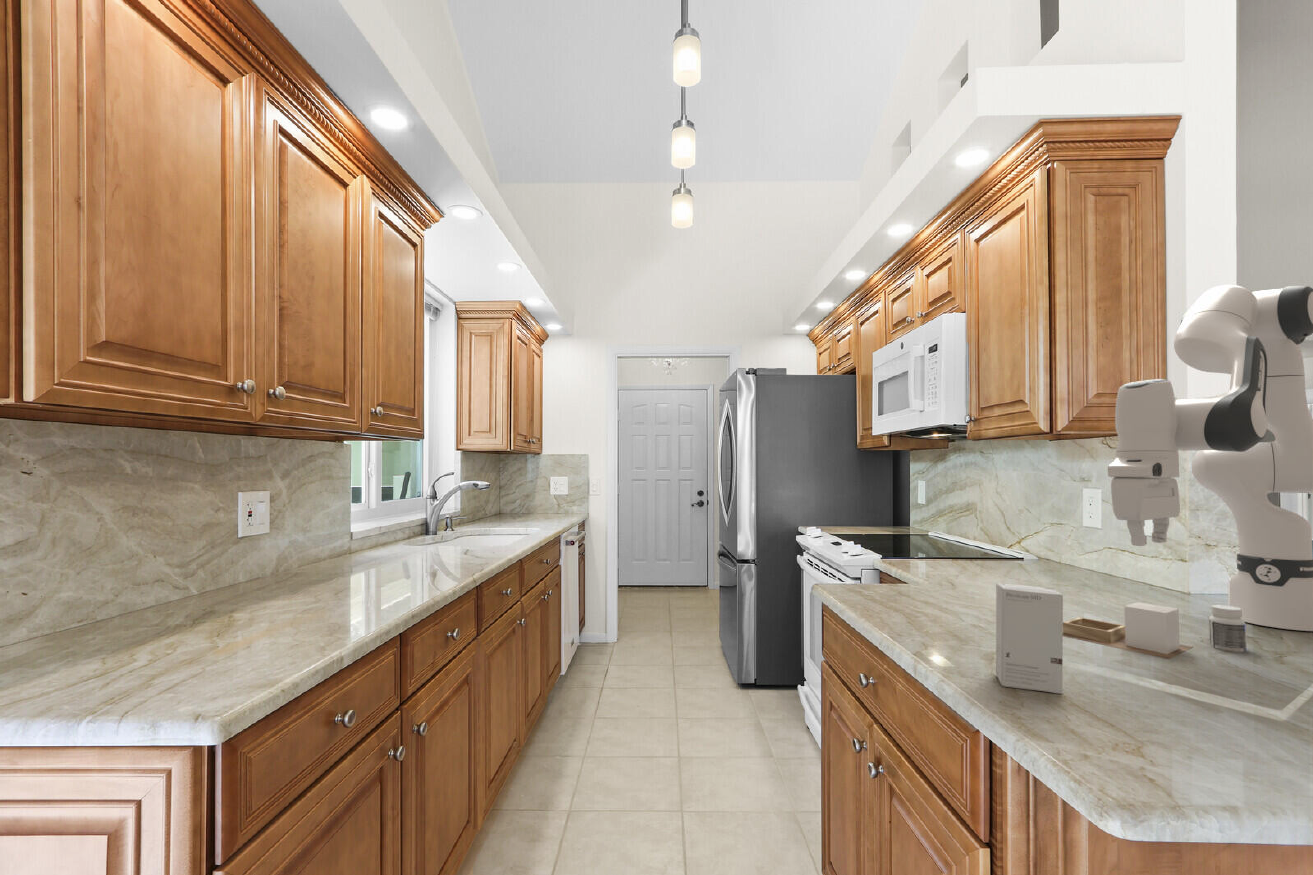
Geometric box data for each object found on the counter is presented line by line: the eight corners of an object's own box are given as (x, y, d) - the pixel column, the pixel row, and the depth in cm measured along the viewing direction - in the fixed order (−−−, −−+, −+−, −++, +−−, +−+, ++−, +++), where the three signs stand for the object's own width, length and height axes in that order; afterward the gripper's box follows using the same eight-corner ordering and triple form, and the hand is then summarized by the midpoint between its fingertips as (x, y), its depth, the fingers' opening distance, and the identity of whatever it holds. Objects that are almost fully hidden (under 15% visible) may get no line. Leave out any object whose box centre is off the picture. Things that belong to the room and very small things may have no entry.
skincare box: (1001, 687, 91) (999, 588, 92) (995, 674, 96) (993, 581, 97) (1066, 695, 88) (1063, 593, 88) (1056, 681, 93) (1053, 585, 94)
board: (1084, 631, 122) (1084, 605, 122) (1193, 653, 107) (1192, 624, 108) (1056, 640, 115) (1056, 613, 115) (1168, 666, 101) (1167, 634, 101)
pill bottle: (1254, 659, 104) (1252, 611, 105) (1222, 657, 105) (1220, 609, 106) (1233, 651, 109) (1231, 604, 109) (1203, 649, 110) (1202, 603, 110)
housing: (1138, 640, 112) (1137, 602, 112) (1179, 648, 107) (1178, 608, 107) (1125, 645, 108) (1124, 606, 109) (1167, 654, 103) (1165, 613, 104)
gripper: (1147, 468, 117) (1150, 539, 117) (1102, 467, 106) (1105, 545, 105) (1189, 468, 112) (1192, 542, 111) (1146, 467, 101) (1149, 549, 100)
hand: (1149, 544), depth 108 cm, fingers open, 8 cm apart
